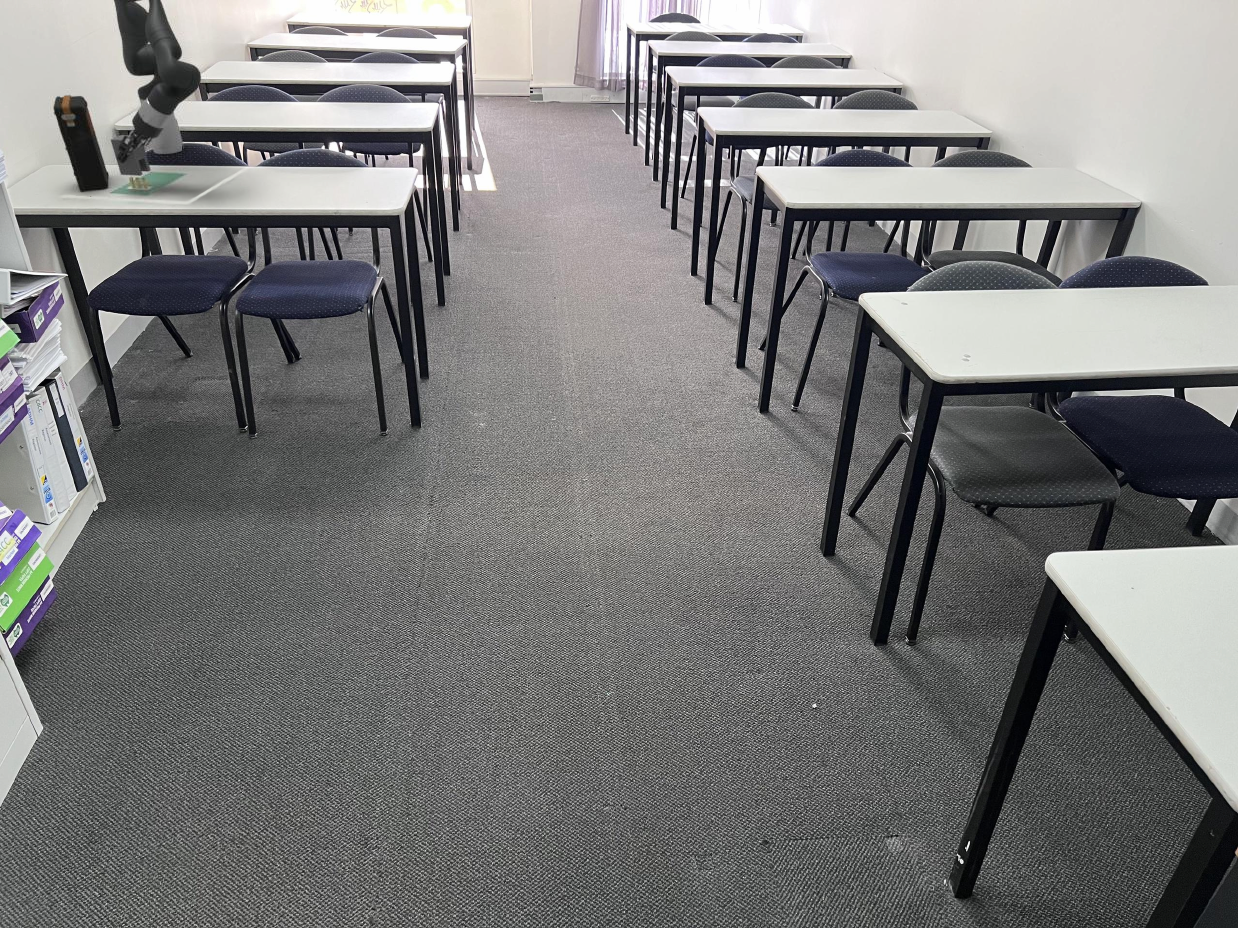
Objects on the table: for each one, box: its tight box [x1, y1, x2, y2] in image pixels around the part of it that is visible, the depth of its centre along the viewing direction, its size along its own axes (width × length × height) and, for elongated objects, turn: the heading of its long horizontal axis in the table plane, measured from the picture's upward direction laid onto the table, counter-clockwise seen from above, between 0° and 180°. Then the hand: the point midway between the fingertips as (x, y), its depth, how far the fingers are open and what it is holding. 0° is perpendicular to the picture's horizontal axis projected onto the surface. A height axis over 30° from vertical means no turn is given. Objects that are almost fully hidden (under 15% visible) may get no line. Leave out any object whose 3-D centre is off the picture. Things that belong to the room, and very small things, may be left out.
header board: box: [109, 171, 187, 196], centre depth 271 cm, size 22×12×4 cm, turn 173°
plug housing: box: [110, 134, 152, 177], centre depth 262 cm, size 6×6×10 cm
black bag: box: [52, 94, 110, 193], centre depth 264 cm, size 16×9×25 cm, turn 25°
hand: (125, 158), depth 263 cm, fingers closed on plug housing, 5 cm apart
